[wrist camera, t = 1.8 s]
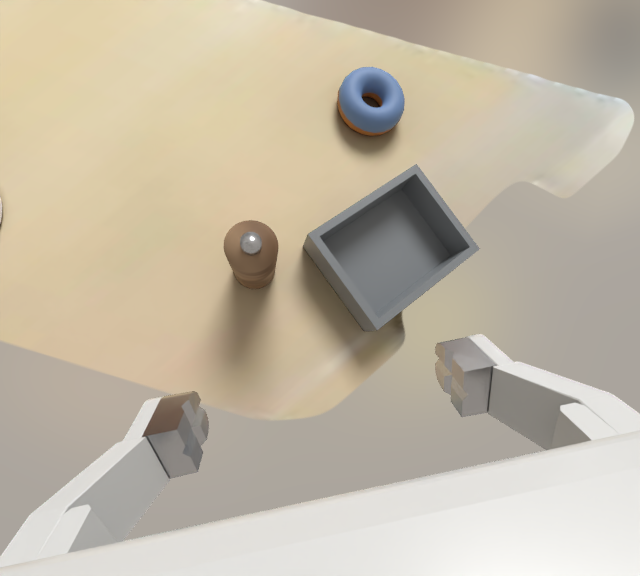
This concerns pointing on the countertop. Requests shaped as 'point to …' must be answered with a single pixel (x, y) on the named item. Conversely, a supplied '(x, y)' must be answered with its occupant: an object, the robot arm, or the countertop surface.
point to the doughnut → (373, 86)
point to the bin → (389, 248)
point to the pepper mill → (252, 253)
